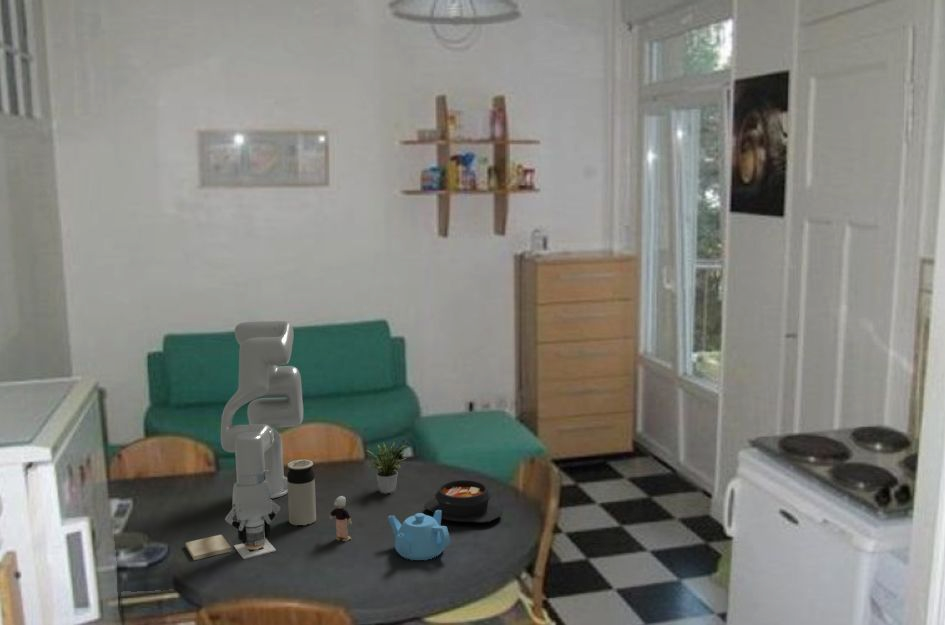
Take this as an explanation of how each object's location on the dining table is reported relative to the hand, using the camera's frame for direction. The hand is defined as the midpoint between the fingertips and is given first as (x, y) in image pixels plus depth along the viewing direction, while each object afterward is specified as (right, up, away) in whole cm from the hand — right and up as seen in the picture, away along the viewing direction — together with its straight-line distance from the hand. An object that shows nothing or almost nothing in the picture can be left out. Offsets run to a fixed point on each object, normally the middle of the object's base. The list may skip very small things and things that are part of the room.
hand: (254, 538), depth 232 cm
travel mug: (+10, 0, +19) cm, 21 cm away
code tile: (0, -3, 0) cm, 3 cm away
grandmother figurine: (+23, -2, +6) cm, 24 cm away
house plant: (+34, +4, +42) cm, 54 cm away
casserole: (+58, +1, +22) cm, 62 cm away
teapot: (+46, -3, -2) cm, 46 cm away
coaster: (-13, -3, 0) cm, 13 cm away
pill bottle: (0, -2, 0) cm, 2 cm away
